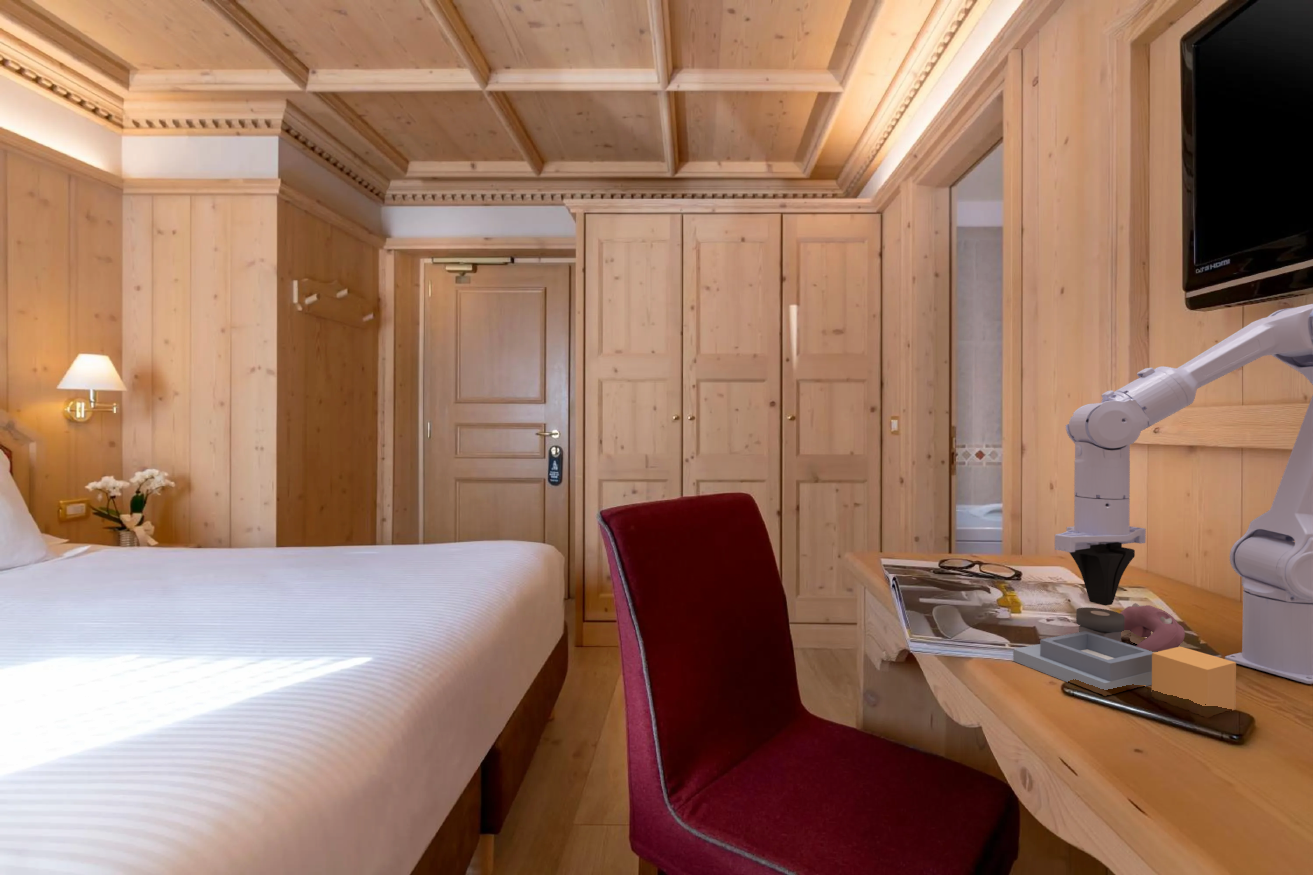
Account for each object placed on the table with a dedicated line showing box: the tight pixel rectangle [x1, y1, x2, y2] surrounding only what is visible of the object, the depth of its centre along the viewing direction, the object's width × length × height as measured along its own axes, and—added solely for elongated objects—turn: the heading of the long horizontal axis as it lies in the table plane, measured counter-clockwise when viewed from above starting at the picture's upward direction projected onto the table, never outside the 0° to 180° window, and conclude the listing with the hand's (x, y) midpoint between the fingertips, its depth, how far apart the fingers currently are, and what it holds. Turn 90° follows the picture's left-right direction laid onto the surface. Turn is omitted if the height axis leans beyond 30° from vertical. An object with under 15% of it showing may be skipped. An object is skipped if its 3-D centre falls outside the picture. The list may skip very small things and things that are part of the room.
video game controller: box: [1119, 602, 1186, 651], centre depth 81 cm, size 10×5×7 cm, turn 169°
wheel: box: [1075, 606, 1125, 632], centre depth 79 cm, size 5×5×4 cm
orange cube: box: [1151, 646, 1237, 711], centre depth 66 cm, size 5×5×5 cm
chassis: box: [1012, 625, 1154, 690], centre depth 75 cm, size 14×11×4 cm
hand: (1100, 602), depth 79 cm, fingers closed
